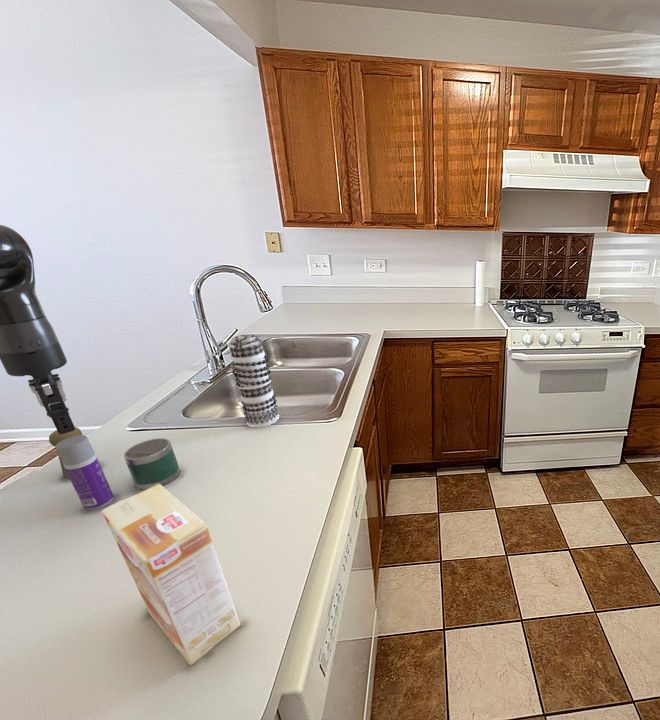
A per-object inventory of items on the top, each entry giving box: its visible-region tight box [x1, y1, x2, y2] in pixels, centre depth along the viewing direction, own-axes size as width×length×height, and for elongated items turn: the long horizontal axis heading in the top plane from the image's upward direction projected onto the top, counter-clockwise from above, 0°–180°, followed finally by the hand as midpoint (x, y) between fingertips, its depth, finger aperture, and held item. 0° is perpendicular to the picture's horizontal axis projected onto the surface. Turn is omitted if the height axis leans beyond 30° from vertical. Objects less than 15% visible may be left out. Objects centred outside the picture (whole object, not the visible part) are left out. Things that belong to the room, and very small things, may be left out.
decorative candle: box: [226, 333, 280, 428], centre depth 109 cm, size 9×9×25 cm
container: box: [55, 434, 115, 511], centre depth 80 cm, size 5×5×15 cm
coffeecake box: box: [100, 484, 242, 666], centre depth 56 cm, size 15×7×20 cm, turn 56°
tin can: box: [123, 437, 181, 491], centre depth 88 cm, size 8×8×8 cm
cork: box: [48, 426, 83, 480], centre depth 90 cm, size 6×6×11 cm
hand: (64, 424), depth 76 cm, fingers open, 8 cm apart
